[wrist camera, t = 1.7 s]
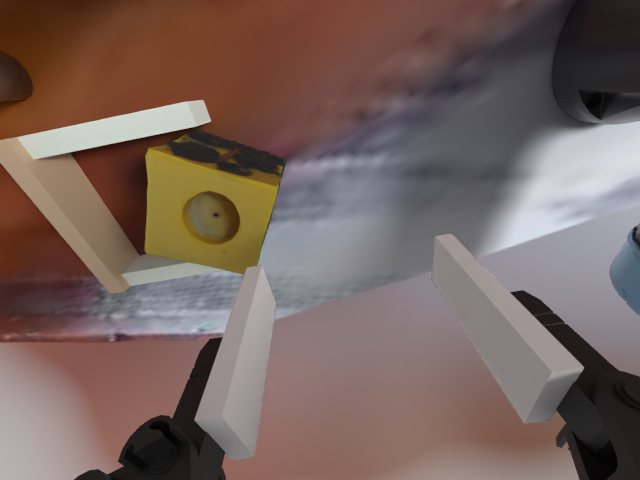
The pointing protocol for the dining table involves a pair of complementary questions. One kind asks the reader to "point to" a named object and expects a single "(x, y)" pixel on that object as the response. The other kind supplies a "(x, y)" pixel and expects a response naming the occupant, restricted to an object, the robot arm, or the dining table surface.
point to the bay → (84, 202)
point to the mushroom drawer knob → (13, 79)
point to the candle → (210, 201)
